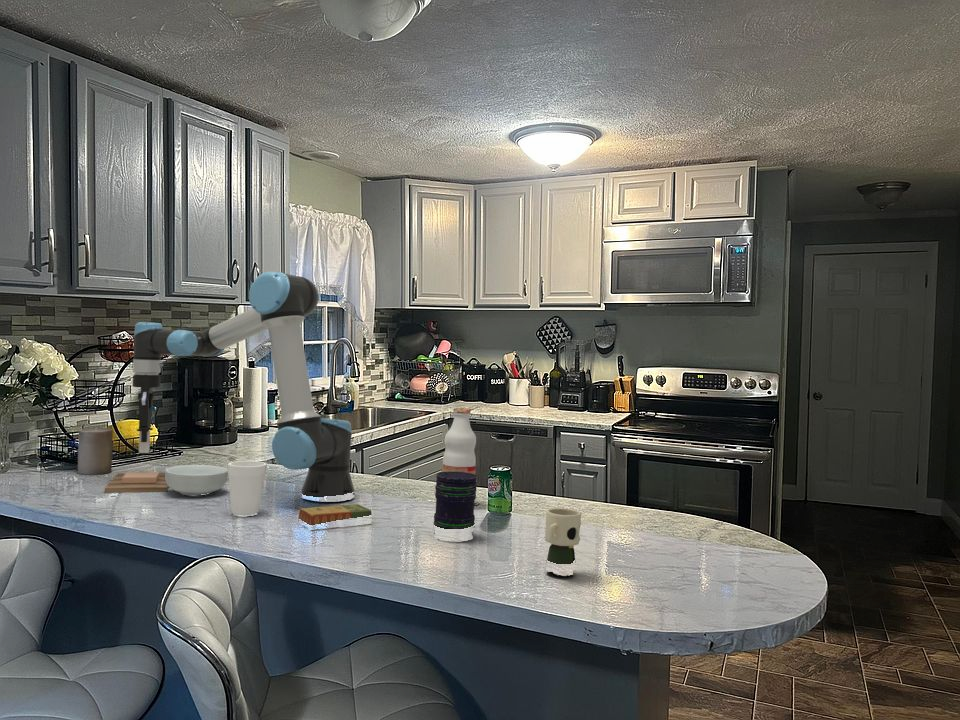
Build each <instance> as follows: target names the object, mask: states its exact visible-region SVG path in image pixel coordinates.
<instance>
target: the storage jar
mask: <svg viewBox="0 0 960 720" xmlns="http://www.w3.org/2000/svg"><path fill="white" fill-rule="evenodd" d="M435 478H436V480H435V485H434V486H435V487H434V488H435V493H434V495H435V498H436V499H435V512H434V514H433V515H434V516H433V525H435V526H437V527H440V528H444V529H464V528H468V527H471V526H473V525H474V524H476V522H475V520H476V518H475V517H476V516H475V501H476V498H477V475H476V473H475V474H471V473H466V472H443V471H440V472H438V473H436V476H435Z"/></svg>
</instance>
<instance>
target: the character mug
mask: <svg viewBox="0 0 960 720" xmlns="http://www.w3.org/2000/svg"><path fill="white" fill-rule="evenodd" d="M581 525H582V512H580V511H579V510H576V509H572V508H565V507H552V508H548V509H546V513H545V528H544V529H545V530H544V532H545V533H544V540H545V542H547V543H548V544H550V546H549V548H548V553H547V558H546V561H547V560H548V561H550V562H553V563H556V564H571V563H573V561H574V560H575V561H576V556H575V554H576V553H575V548H574V546H577V545H579V544H580V541H581V537H580V531H581V530H580V529H581Z"/></svg>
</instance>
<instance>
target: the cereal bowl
mask: <svg viewBox="0 0 960 720" xmlns="http://www.w3.org/2000/svg"><path fill="white" fill-rule="evenodd" d="M227 472H228V467H224V466H223V467H222V466H218V465H207V464H182V465H181V464H180V465H174V466H170V467H167V468H166V469H165V470H164V473H165V480H166V483H167V485H168V486H169V488H170V489H171V490H173V491H176V492H179V493H180V495H182V494H183V495H182V496H184V495H201V494H207V493H210V494H211V493H213V492H216V491H218V490H220V489H221V488H223V487H224V486H225V484H226V483H227V481H228V479H229V476H228V473H227Z"/></svg>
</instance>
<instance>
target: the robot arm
mask: <svg viewBox="0 0 960 720" xmlns="http://www.w3.org/2000/svg"><path fill="white" fill-rule="evenodd" d="M249 288H250V289H249V293H248V300H249V303H250V306H251V307H252V308H250V309H247V310H246V311H244V312H242V313H240V314H239V313H238V315H235V316H234V317H230V318H228V319H227V320H225V321H222V322H220V323H217V324H215V325H213V326H212V327H209V328H207V329H205V330H203V331H202V330H201V331H197V330H186V329H163V324H162V323H161V322H160V323H159V322H148V321H147V322H145V321H143V322H141V321H139V322H137V323H135V325H134V333H133V334H134V335H133V359H132V373H134V374H133V375H132V387H134V388H140V392H139V393H137V398H138V411H139V412H138V413H139V414H138V428H137V429H136V432H139V438H138V439H139V440H138V441H139V442H138V453H139V454H149V453H150V448H151V447H150V446H151V445H150V442H151V431H153V427H152V413H153V412H152V411H153V409H152V408H153V405H154V397H155V393H154V392H153V391H152V388H153V389H154V388H155V389H156V388H160V387H161V375H160V373H161V372H162V371H161V370H162V369H161V367H164V364H163V362H162V356H163V355H164V356H176V357H188V356H190V357H193V356H195V357H209V358H210V357H215V356H216V357H217V356H220V355H221V354H222V353H223V352H224V351H225V349H226V348H228V347H231V346H233V345H235V344H238V343H241V342H243V341H244V340H247V339H249V338H252V337H254V336H256V335H258V334H261V333H263V332H265V331H267V330H268V336H269V341H270V342H269V343H270V349H271V354H272V362H273V368H274V375H275V381H276V386H277V388H276V389H277V393H278V399H279V407H280V414H281V415H280V417H279V419H278V420H277V422H276V425H277V431H276V433H274V437H273V438H272V440H271V441H272V442H271V451H272V454H273V456H274V459H275V460H276V461H277V462H278V464H279V465H281V466H283V468H285V469H288V470H293V471H294V470H295V471H296V470H301V471H302V470H306V469H308V471H307V474H306V477H305V480H304V482H303V485H302V487H301V492H300V493H302V494H303V495H306V496H313V497H324V496H336V495H344V494H347V493H352V492H354V493H355V487H354V483H353V480H352V476H351V473H350V466H351V465H350V463H351V450H352V449H351V448H352V447H351V446H352V435H353V431H352V424H351V422H350V421H349V420H343V419H335V418H324V417H321V414H319V413H318V412H316V410H314V403H313V398H312V397H313V396H312V390H311V386H310V379H309V372H308V371H309V370H308V365H307V359H306V352H305V348H304V340H303V333H302V329H301V328H302V327H301V325H302V323H303V322H304V320H306V319H305V318H306V317H308V316H310V314H312V313H313V312H314V311H315V309H316V308H317V306H318V303H319V291H318V289H317V287H316V286H315V284H314V283H313V282H312V281H311V280H310V279H308V278H306V277H304V276H299V275H294V274H288V273H284V272H282V271H266V272H263V273H261V274H259V275H258V276H257V277H256V278H254V281H253V282H252V283H251V285H250V287H249Z"/></svg>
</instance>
